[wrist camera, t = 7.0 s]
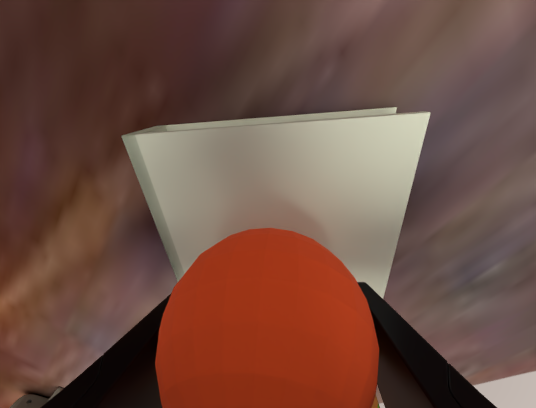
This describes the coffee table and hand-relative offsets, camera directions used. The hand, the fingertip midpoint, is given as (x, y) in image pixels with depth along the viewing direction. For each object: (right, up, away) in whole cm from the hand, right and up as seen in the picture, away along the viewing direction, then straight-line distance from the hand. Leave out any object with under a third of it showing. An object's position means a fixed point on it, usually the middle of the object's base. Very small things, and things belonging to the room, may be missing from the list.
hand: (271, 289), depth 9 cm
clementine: (+1, +1, +1) cm, 2 cm away
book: (0, +2, +5) cm, 5 cm away
